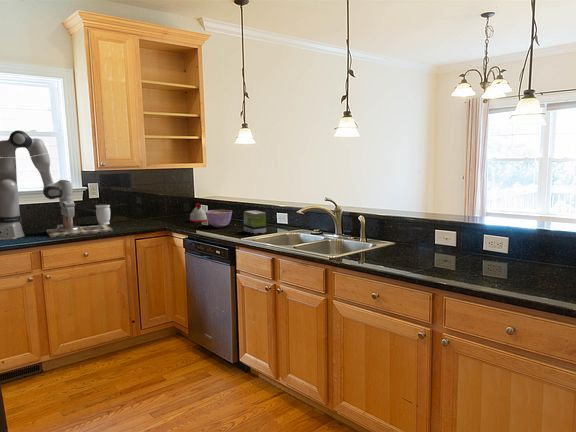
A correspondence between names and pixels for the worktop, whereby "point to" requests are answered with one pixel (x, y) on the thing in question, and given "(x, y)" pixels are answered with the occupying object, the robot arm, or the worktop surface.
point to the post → (75, 228)
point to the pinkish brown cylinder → (66, 224)
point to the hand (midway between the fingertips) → (68, 222)
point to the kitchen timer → (198, 214)
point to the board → (81, 230)
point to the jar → (103, 214)
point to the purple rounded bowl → (218, 217)
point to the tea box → (254, 221)
